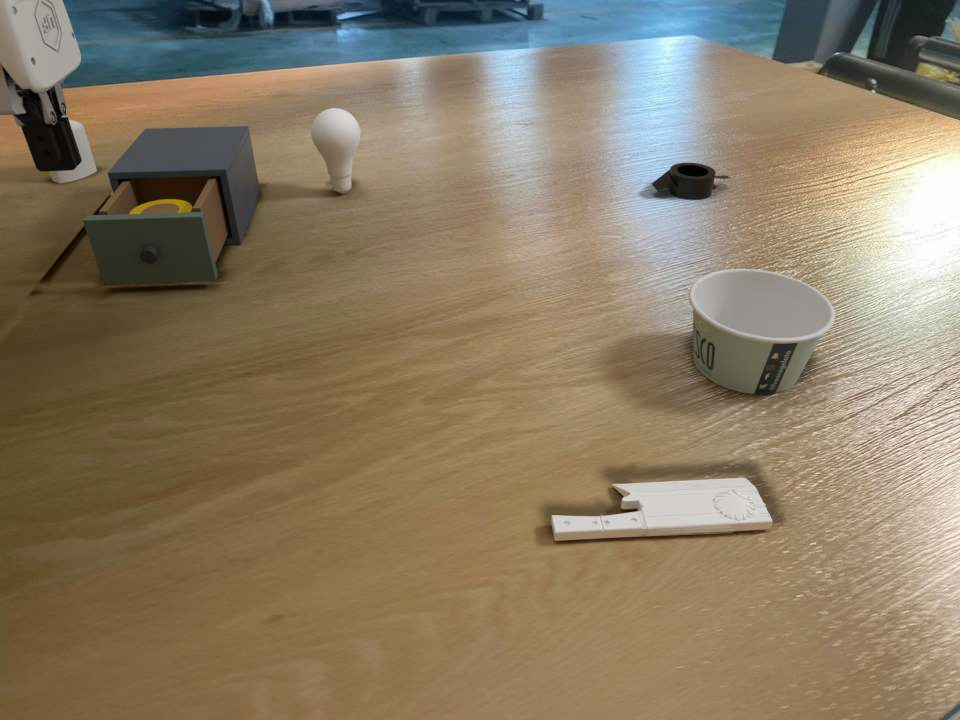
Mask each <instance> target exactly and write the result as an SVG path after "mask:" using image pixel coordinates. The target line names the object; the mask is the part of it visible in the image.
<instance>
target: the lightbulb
mask: <svg viewBox="0 0 960 720" xmlns="http://www.w3.org/2000/svg"><path fill="white" fill-rule="evenodd" d="M310 131H311V132H310V135H311V139H312V142H313V145H314V147H315V148H316V150H317V151H318V153H319V154H320V155H321V156H322V159H323V160H324V162H325V165H326V170H327V174H328V176H329V177H330V183H331V188H332V190H333V191H334V192H337V193H338V194H341V195H343V194H346V193H347V192H348V191H350V190H351V188H352V173H353V161H354V157H355V153H356V151H357V149H358V147H359V144H360V141H361V136H362V135H361V128H360V125H359V123H358V121H357V119H356V117H355V116H353V115H352V114H351V113H350V112H349V111H347V110H345V109H343V108H338V107H337V108H336V107H331V108H327V109H325V110H323V111H321V112H320V113H318V115H316V117H315V118H314V119H313V122H312V125H311V129H310Z"/></svg>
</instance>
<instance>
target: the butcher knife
mask: <svg viewBox="0 0 960 720" xmlns="http://www.w3.org/2000/svg"><path fill="white" fill-rule="evenodd" d="M611 487H613V488H614V489H615V490H616V491H617V492H618V493H620V495H622V496H623V497H622V498H621V504H620V509H621V510H636V511H631V512H624V513H623V512H622V513H618V514H608V515H603V514H600V515H598V516H597V515H596V516H595V515H593V516H592V515H558V514H551V518H550V524H551V529H552V533H553V539H554V541H555V542H558V541H576V540H579V541H580V540H594V539H595V540H597V539H614V538H635V537H662V536H663V537H664V536H665V537H666V536H673V535H678V536H686V535H687V536H689V535H692V534H703V535H712V534H713V535H714V534H716V533H725V534H731V533H733V532H743V531H763V530H764V531H765V530H771V528H772V525H773V519H772V517H771V514H770V511H768V509H767V503H765V502H764V500H763V498H762V497H761V495H760V493H759V490H758V489H757V487H756V485H754V484H753V483H752V482H751V481H750V480H749V479H747V478H746V477H732V478H711V479H693V480H691V479H690V480H671V481H652V482H651V481H649V482H648V481H647V482H631V483H612V484H611Z"/></svg>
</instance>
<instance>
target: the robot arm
mask: <svg viewBox="0 0 960 720" xmlns="http://www.w3.org/2000/svg"><path fill="white" fill-rule="evenodd" d="M81 62H82V53H81V49H80V46H79V43H78V40H77V37H76V35H75V32H74V30H73V26H72V22H71V19H70V17H69V15H68V12H67V9H66V6H65V3H64V0H0V116H12V117H13V119H14V121H15V123H16V125H17V126H18V127H20V128H21V131H22V134H23V136H24V138H25V141H26V145H27V147H28V150H29V152H30V155H31V157H32V160H33V163H34V166H35V169H36V170H37V171H39V172H43V173H45V172H49V171H69V170H74V169H75V168H76V167H77V165H79V164H80V163H81V162H82V159H81V156H80V153H79V150H78V147H77V144H76V141H75V138H74V134H73V131H72V128H71V125H70V122H69V120H70V118H69V117H68V113H69V112H68V107H67V102H66V99H65V95H64V91H63V83H64V82H65V80H66V78H67V77H68V76H70V75H71V74H72V73H73V72H75V71H76V70H77V68H78V67H79V66H80V64H81ZM66 115H67V117H62V116H66Z"/></svg>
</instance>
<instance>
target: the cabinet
mask: <svg viewBox="0 0 960 720" xmlns="http://www.w3.org/2000/svg"><path fill="white" fill-rule="evenodd" d="M107 176H108V180H109V184H110V187H111V190H112V194H113V193H114V192H115V191H116V189H117V188H118V187H119V186H120V184H121V183H122V182H123V181H124V179H137V178H172V177H207V176H220V179H221V184H222V189H223V194H224V198H225V203H226V208H227V213H228V218H229V223H230V231H229V233H228V235H227V237H226V240H225V242H224V244H223V246H234V245H235V246H237V245H242V243H243V240H244V237H245V234H246V232H247V230H248V227H249V225H250V222H251V220H252V217H253V215H254V212H255V210H256V207H257V205H258V203H259V199H260V197H261V190H260V184H259V178H258V173H257V167H256V160H255V155H254V150H253V144H252V138H251V133H250V126H248V125H240V126H238V125H236V126H201V127H200V126H199V127H198V126H197V127H194V126H193V127H192V126H191V127H155V128H152V127H151V128H144V129H143V130H142V132H141V133H140V134H139V135H138V136H137V138H135V139H134V141H133V142H132V143H131V145H130V146H129V147H128V148H127V149H126V150H125V151H124V152H123V154H122V155H121V156H120V157H119V158H118V159H117V161H116V162H115V163H114V164H113V166H112V167H111V168H110V169H109V170H108V171H107Z"/></svg>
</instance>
